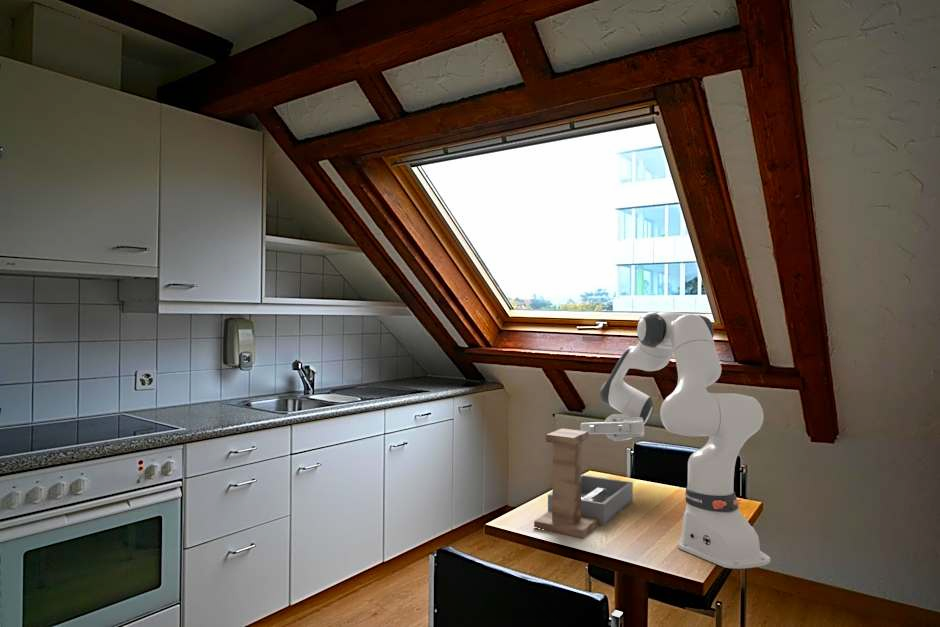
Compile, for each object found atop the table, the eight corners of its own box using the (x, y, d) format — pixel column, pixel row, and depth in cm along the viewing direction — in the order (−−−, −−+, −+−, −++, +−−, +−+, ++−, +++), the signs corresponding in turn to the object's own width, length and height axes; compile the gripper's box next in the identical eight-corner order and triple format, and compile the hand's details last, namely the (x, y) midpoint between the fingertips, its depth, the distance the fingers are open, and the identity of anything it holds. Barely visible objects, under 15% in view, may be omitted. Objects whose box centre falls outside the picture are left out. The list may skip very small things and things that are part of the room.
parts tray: (581, 492, 209) (581, 474, 208) (632, 501, 200) (632, 482, 200) (547, 515, 185) (548, 494, 185) (603, 525, 177) (604, 504, 177)
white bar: (594, 496, 201) (594, 487, 201) (607, 498, 199) (608, 489, 199) (574, 510, 187) (574, 500, 187) (588, 513, 184) (588, 502, 184)
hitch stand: (551, 516, 184) (552, 427, 184) (598, 525, 177) (599, 432, 177) (534, 528, 174) (535, 433, 174) (582, 538, 167) (583, 439, 167)
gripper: (586, 418, 216) (573, 418, 204) (647, 417, 207) (637, 417, 195) (587, 437, 215) (574, 438, 203) (648, 436, 206) (638, 438, 194)
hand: (605, 428), depth 199 cm, fingers open, 8 cm apart
